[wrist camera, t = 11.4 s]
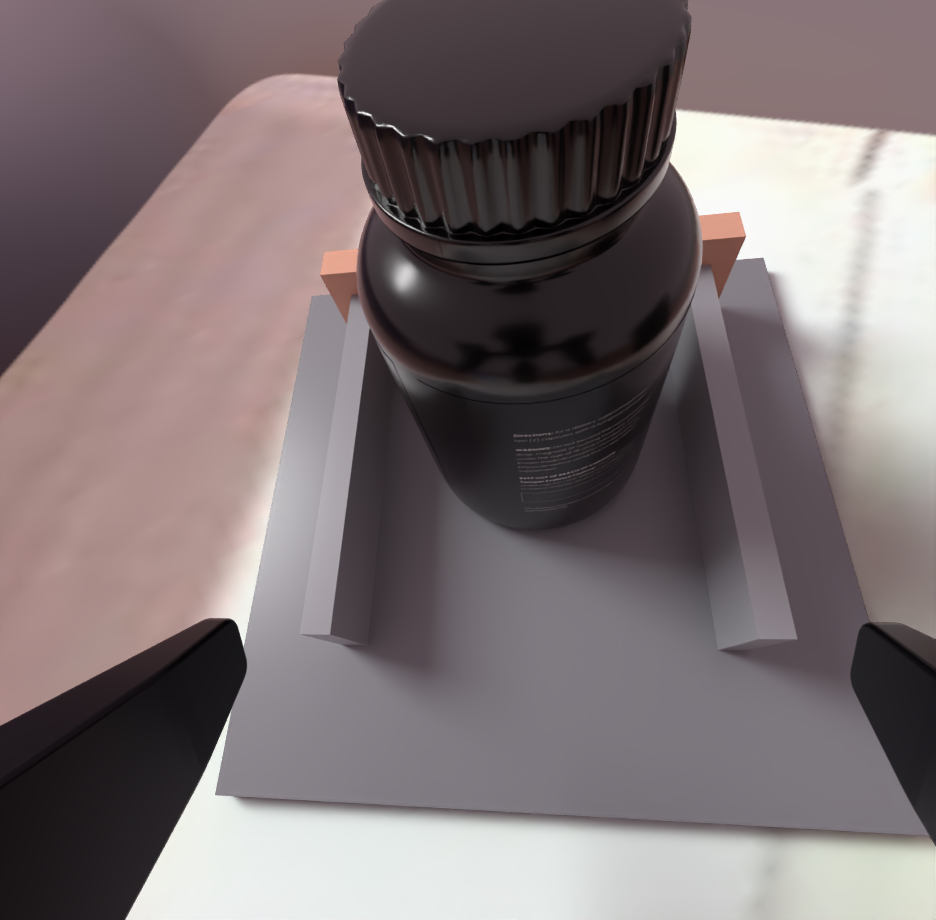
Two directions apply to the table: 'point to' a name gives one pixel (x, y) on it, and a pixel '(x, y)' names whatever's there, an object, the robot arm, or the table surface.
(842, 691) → the bottle holder
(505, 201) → the supplement bottle
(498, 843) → the table surface
